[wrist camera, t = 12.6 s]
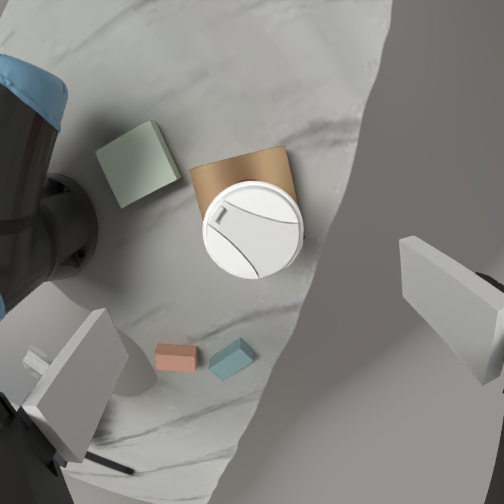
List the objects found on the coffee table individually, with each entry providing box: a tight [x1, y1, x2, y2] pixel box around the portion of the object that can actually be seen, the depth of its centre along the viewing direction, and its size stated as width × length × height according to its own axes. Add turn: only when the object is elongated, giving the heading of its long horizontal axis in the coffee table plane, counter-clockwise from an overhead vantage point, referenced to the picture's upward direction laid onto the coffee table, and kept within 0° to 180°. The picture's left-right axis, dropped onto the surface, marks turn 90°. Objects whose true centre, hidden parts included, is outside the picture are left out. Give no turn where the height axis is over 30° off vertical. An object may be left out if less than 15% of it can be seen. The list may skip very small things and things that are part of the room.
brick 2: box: [209, 338, 254, 381], centre depth 47 cm, size 6×3×3 cm, turn 129°
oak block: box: [189, 146, 305, 239], centre depth 39 cm, size 11×11×4 cm
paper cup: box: [203, 179, 304, 279], centre depth 30 cm, size 8×8×14 cm
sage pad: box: [95, 120, 181, 208], centre depth 37 cm, size 8×8×3 cm
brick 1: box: [154, 344, 198, 373], centre depth 46 cm, size 6×3×3 cm, turn 88°
